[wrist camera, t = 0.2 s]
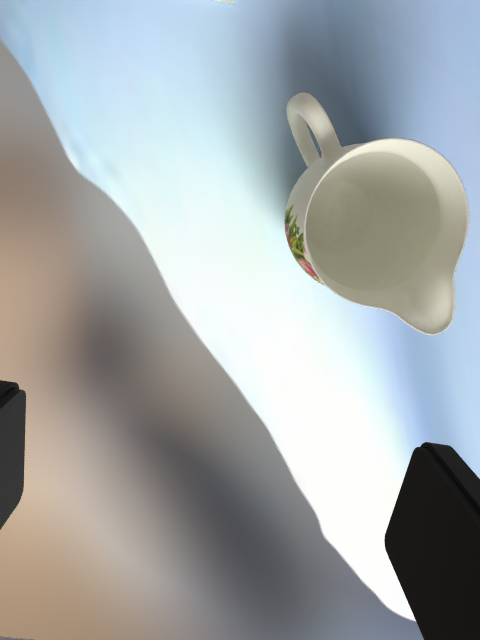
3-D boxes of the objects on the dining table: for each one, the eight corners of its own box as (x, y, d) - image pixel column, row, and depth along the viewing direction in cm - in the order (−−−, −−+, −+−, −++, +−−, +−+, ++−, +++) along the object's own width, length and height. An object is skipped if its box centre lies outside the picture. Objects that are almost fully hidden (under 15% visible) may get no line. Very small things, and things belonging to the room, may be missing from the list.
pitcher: (336, 78, 35) (399, 9, 22) (425, 257, 40) (520, 289, 27) (228, 152, 37) (225, 128, 24) (325, 316, 41) (368, 373, 28)
